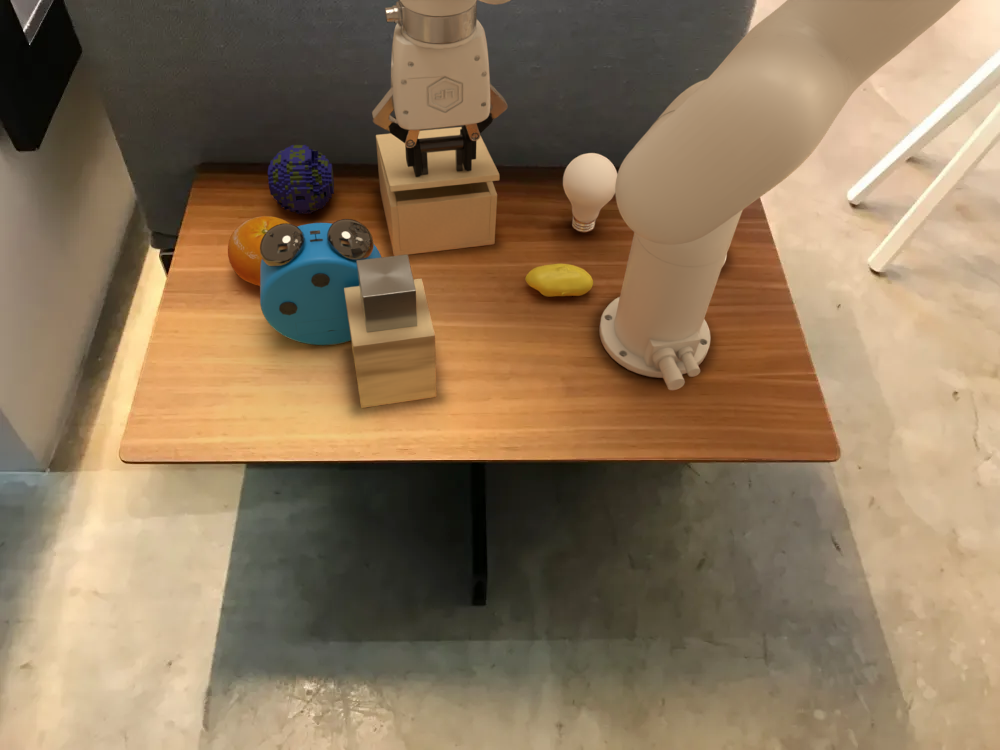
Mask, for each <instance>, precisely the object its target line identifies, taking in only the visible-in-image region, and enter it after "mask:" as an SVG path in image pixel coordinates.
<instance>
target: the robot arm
mask: <svg viewBox="0 0 1000 750" xmlns="http://www.w3.org/2000/svg"><path fill="white" fill-rule="evenodd" d="M478 1H479V2H481V3H485V4H487V5H503V4H506V3H508V2H510V1H512V0H397V1H396V2H395V5H392V6H391V7H384V15H385V21H386V23H394V24H396V25H395V28H394V31H393V38H392V44H391V55H390V56H391V57H390V58H391V59H390V60H391V61H390V88H389V90H388V91H387V92H386V94H384V96H383V97H382V99H381V100H380V101H379V103H378V104H377V105H376V106H375V108H374V109H372V111H371V118H372V122H373V123H374V125H377V126H378V127H380V128H381V129H383V130H385V131H388V132H389V134H392V135H394V136H395V137H396V138H398V139H399V140H401V141H402V142H404V143H405V149H406V161H407V166H408V167H412V166H413V169H414V173H415V177H420V175H422V165H421V148H420V144H419V141H418V135H419V132H420V131H423V130H434V129H444V128H453V127H462V129H460V135H463V139H464V149H462V160H463V166H464V169H465V170H467V171H471V170H472V160H473V159H476V141H477V140H478V139H479V138H480V136H481V134H482V133H483V132H484V131H485V130H486V129H487V128H488V127H489V126H490V125H491V124H492V123H493V121H494V119H497V118H498V117H500V116H501V115H502V114H503V113H504V112H506V111H507V109H508V103H507V101H506V99H505V97H504V96H503V95H502V94H501V93H500V92H499V91H498V90H497V89H496V88H495V86H493V85H492V83H491V78H490V77H491V75H490V61H489V50H488V49H489V48H488V42H487V38H486V32H485V28H484V26H483V25H482V24H481V22H480V21H479V20H478V19H477V14H478V11H477V10H478ZM960 1H961V0H786V1H785V2H783V3H782V4H780V6H779V7H777V8H776V9H775V10H773V11H772V12H771V13H770V14H769V15H767V16H766V17H764V18H763V19H762V20H761V21H759V22H758V23H757V24H756V25H755V26H754V27H752V28H751V29H750V30H749V31H748V32H747V33H746V34H745V36H743V38H742V39H740V40H739V42H738V43H737V44H736V46H735V47H734V48H733V49H732V50H731V51H730V52H729V54H727V56H726V57H725V58H724V59H723V61H722V62H721V63H720V64H719V65H718V67H717V68H716V69H715V70H714V71H713V72H712V73H711V74H710V75H709V76H708V77H707V78H706V79H703V80H700V81H698V82H695V83H694V84H692V85H690V86H689V87H688V88H686V89H684V91H683V92H681V93H680V94H678V96H676V98H674V99H673V100H672V101H671V103H670V104H669V105H667V106H666V108H665V110H663V112H662V113H661V114H660V115H659V117H657V119H656V120H655V121H654V122H653V123H652V125H651V126H650V128H649V129H648V130H647V131H646V132H645V134H643V136H642V137H641V138H640V139H639V140H638V141H637V143H635V145H634V146H633V148H631V150H630V151H629V152H628V154H626V156H625V158H624V159H623V160H622V162H621V164H620V166H619V168H618V171H617V178H616V185H615V194H614V196H615V202H616V206H617V209H618V212H619V214H620V216H621V218H622V220H623V222H624V223H625V224H626V226H627V228H629V229H630V231H632V232H633V235H632V236H633V237H632V241H631V244H630V245H631V246H630V249H629V254H628V259H627V263H626V268H625V272H624V276H623V282H622V286H621V290H620V295H619V296H617V298H614V299H613V300H612V301H611V302H610V303H609V304H608V305H606V306H607V307H605V309H604V310H603V312H602V314H601V316H600V322H599V326H598V327H599V328H598V329H599V338H600V341H601V344H602V346H603V349H604V350H605V352H606V353H607V354H608V355H609V356H610V357H611V359H613V360H614V361H615V362H616V363H618V364H619V365H620V366H622V367H623V368H625V369H627V370H628V371H631V372H633V373H635V374H638V375H642V376H646V377H649V378H656V379H657V378H658V379H663V381H664V383H665V386H666V387H667V390H669V391H677V390H679V389H682V387H684V385H685V384H686V381H685V378H684V376H683V375H686V374H687V376H688V377H690V378H694V377H697V376H698V375H700V373H701V369H700V367H699V366H700V365H701V363H702V362H703V361H704V359H705V358H706V357H707V354H708V352H709V349H710V346H711V340H712V339H711V330H710V328H709V325H708V323H707V320H706V319H705V317H706V315H707V312H708V309H709V306H710V303H711V300H712V297H713V294H714V291H715V289H716V285H717V282H718V280H719V277H720V274H721V271H722V269H723V267H724V265H723V263H724V260H725V257H726V254H727V255H728V251H729V250H730V246H731V243H732V241H733V238H734V235H735V233H736V229H737V227H738V224H739V221H740V219H741V216H742V213H743V211H744V210H745V209H746V208H747V207H749V206H750V205H751V204H753V203H755V201H758V200H759V199H760V198H761V197H762V196H764V195H766V194H767V193H768V192H770V191H771V190H772V189H774V188H775V187H776V186H778V185H779V184H781V183H782V182H783V181H785V180H786V179H787V178H789V176H791V175H792V174H793V173H794V172H795V171H797V170H798V168H800V167H801V166H802V164H804V162H805V161H807V160H808V158H809V157H810V156H811V155H812V154H813V153H814V151H815V150H816V149H817V148H818V146H819V145H820V143H821V142H822V140H823V139H824V138H825V136H826V134H827V133H828V131H829V130H830V128H831V126H832V125H833V124H834V121H835V120H836V119H837V117H838V116H839V114H840V112H841V111H842V110H843V108H844V106H845V105H846V104H847V102H848V100H850V98H851V97H852V95H853V94H854V93H855V92H856V90H858V88H859V87H860V86H861V85H863V83H865V82H866V81H867V80H868V79H869V78H870V77H872V76H873V75H874V74H875V73H876V72H878V71H879V70H880V69H881V68H882V67H884V66H885V65H886V64H887V63H889V62H890V61H891V60H892V59H894V58H895V57H897V56H898V55H899V54H900V53H902V52H903V51H904V50H905V49H906V48H907V47H908V46H909V45H911V44H912V43H913V42H914V41H915V40H916V39H918V38H919V37H920V36H921V35H922V34H924V33H925V32H926V31H927V30H929V29H930V28H931V27H932V26H933V25H935V24H936V23H937V22H938V21H940V20H941V19H942V18H943V17H944V16H945V15H946V14H947V13H949V11H951V10H952V9H953V8H954V7H955V6H956V5H957V4H958V3H960ZM393 112H394V115H395V116H392V115H391V114H392V113H393ZM722 266H723V267H722Z"/></svg>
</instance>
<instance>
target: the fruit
mask: <svg viewBox="0 0 1000 750" xmlns="http://www.w3.org/2000/svg"><path fill="white" fill-rule="evenodd" d="M284 223H287V224H291V223H290V222H288V221H286V220H285V219H283V218H279V217H276V216H271V215H263V216H262V215H261V216H256V217H252V218H250V219H247V220H246V221H243V223H241V224H239V226H238V227H236V229H234V230H233V231H232V233H231V236H230V237H229V240H228V244H227V259H228V262H229V263H230V266H231V268H232V269H233V271H234V272H235V273H236V275H237V276H238V277H239V278H241V279H242V280H243V281H245V282H246V283H247V282H248V283H250V284H252V285H255V286H258V287H260V267H261V260H262V257H261V255H260V243H261V240H262V238H263V236H264V235H265V233H266V232H267V231H268V230H269V229H271V228H272V227H274V226H276V225H279V224H284Z"/></svg>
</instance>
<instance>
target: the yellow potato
mask: <svg viewBox="0 0 1000 750" xmlns="http://www.w3.org/2000/svg"><path fill="white" fill-rule="evenodd" d="M524 279H525V282H526V284H527V285H528V286H529V287H530V288H531V289H534V290H536V291H537V292H539V293H540V294H541V295H543V296H544V297H547V298H548V297H551V298H552V297H572V296H573V297H579V296H583V295H586V294H587V293H588V292H590V291H591V289H592V287H593V286H594V280H593V278H592V275H591V274H589V272H588V271H586V270H585V268H582V267H580V266H577V265H575V264H570V263H559V262H558V263H550V264H544V265H540V266H536V267H534V268H532V269H531V270H530V271H529V272H527V274H526V275H525V277H524Z"/></svg>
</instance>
